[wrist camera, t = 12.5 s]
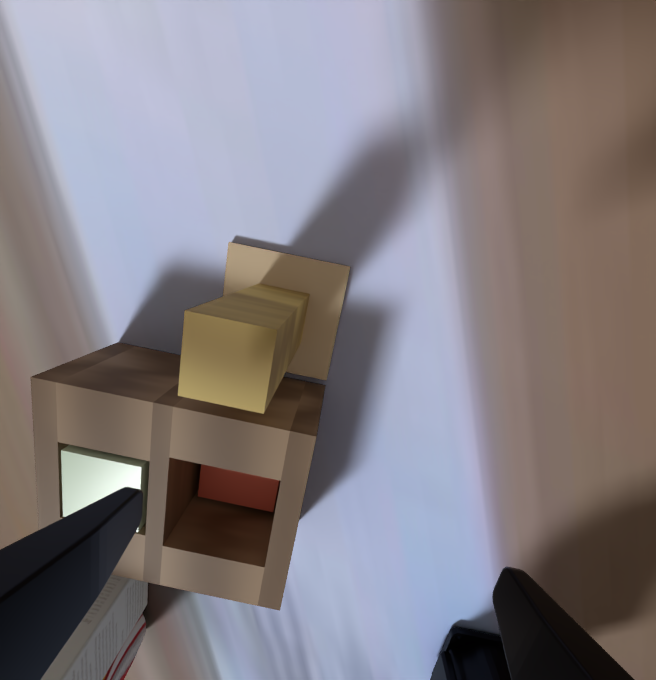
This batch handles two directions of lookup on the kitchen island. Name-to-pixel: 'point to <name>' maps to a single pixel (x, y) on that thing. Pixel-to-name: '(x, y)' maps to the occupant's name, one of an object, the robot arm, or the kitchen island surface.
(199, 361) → the square wooden peg
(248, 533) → the block
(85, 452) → the on button
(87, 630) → the skincare box
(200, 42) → the kitchen island surface
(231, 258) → the pad
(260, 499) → the plunger
